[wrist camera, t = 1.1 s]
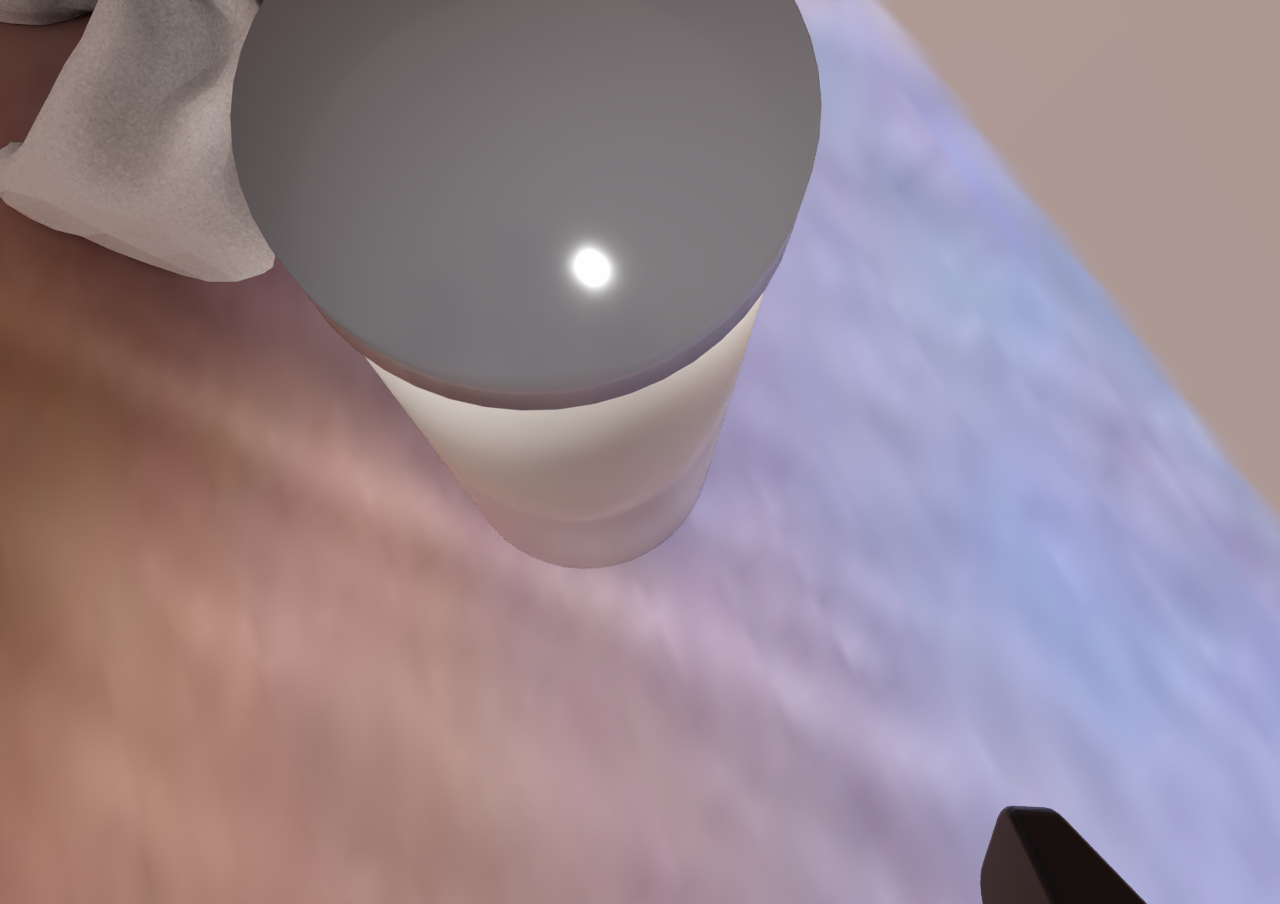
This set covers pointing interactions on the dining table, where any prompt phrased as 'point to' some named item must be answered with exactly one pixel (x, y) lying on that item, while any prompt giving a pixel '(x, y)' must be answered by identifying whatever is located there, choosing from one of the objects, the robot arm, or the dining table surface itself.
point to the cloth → (142, 136)
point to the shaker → (538, 230)
